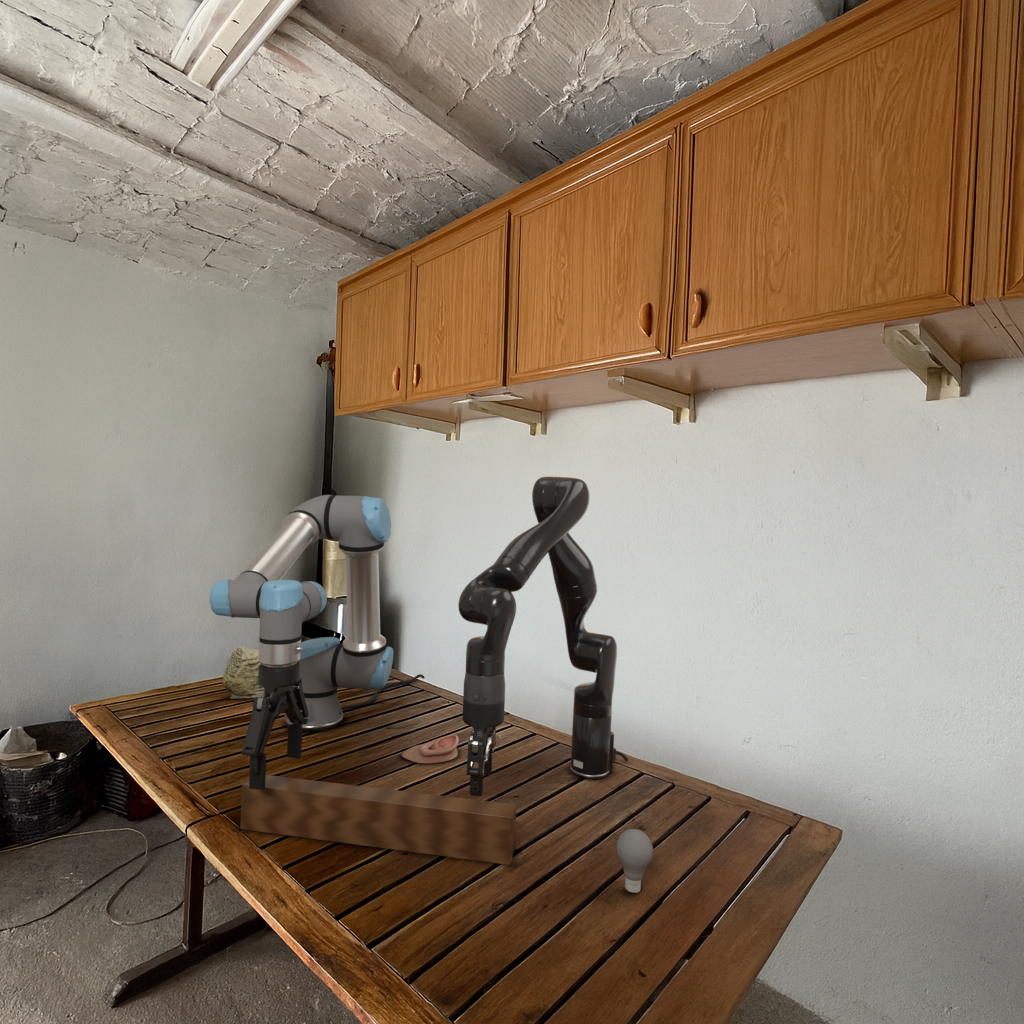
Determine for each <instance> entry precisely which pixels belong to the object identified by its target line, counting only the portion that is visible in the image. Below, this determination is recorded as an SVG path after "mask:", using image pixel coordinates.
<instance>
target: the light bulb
mask: <svg viewBox="0 0 1024 1024" xmlns="http://www.w3.org/2000/svg"><path fill="white" fill-rule="evenodd" d="M615 849H616V854H617V857H618V859H619V861H620V863H621V865H622V867H623V873H624V874H623V875H624V876H625V878H624V888H625V890H627V891H628V892H630V893H634V894H635V893H639V892H640V891H641V889H642V887H641V886H642V879H643V877H644V875H645V871H646V868H647V867H648V866H649V864H650V863H651V861H652V859H653V855H654V847H653V843H652V841H651V838H649V836H648V835H647V834H646V833H645V832H643V831H642V830H641V829H636V828H629V829H627V830H625V831H623V832H622V833H621V834H620V835H619V837H618V839H617V841H616V847H615Z"/></svg>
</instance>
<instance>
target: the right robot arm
mask: <svg viewBox="0 0 1024 1024" xmlns="http://www.w3.org/2000/svg"><path fill="white" fill-rule="evenodd" d="M531 501H532V507H533V511H534V515H535V518H536V521H537V524H535V525H533V526H532V527H530V528H528V529H526V530H525V531H524V532H522V533H520V534H519V535H517V536H516V537H514V538H513V539H512V540H511V541H510V542H509V543H508V544H507V545H506V547H505V548H504V549H503V551H502V552H501V553H500V555H499V556H498V557H497V559H495V562H494V563H493V564H492V565H491V566H489V567H487V568H486V569H485V570H483V571H482V572H481V573H480V574H478V575H476V577H475V578H473V579H472V580H470V581H469V582H468V584H466V586H465V587H464V588H463V590H462V591H461V594H460V596H459V599H458V603H457V605H458V613H459V614H460V616H461V618H462V619H463V620H465V621H467V622H469V623H473V624H477V625H483V626H486V631H485V633H484V635H479V636H474V637H472V638H470V639H469V640H468V642H467V644H466V653H465V672H464V673H465V674H464V679H463V692H462V693H463V695H462V697H463V698H462V721H463V723H464V724H465V725H467V726H470V727H471V728H472V729H473V730H472V733H470V735H469V739H468V741H467V757H466V759H467V761H466V771H465V772H466V776H469V795H470V796H474V797H481V796H483V794H484V776H491V774H492V773H493V754H494V752H495V747H496V745H497V742H496V740H497V739H496V738H497V736H496V735H497V727H499V726H501V725H502V724H503V723H504V721H505V706H506V704H505V703H506V678H505V676H506V675H505V669H506V668H505V667H506V650H507V645H508V642H509V637H510V634H511V631H512V627H513V626H514V625H513V624H514V622H515V618H516V614H517V601H516V598H515V595H514V594H513V593H515V592H519V591H520V590H522V589H523V588H524V586H525V585H526V583H527V582H528V581H529V579H530V578H531V576H532V575H533V574H534V572H535V570H536V569H537V567H538V566H539V565H540V563H541V562H542V561H543V559H544V558H545V557H546V556H547V554H548V557H549V562H550V565H551V570H552V576H553V581H554V586H555V590H556V593H557V597H558V601H559V604H560V610H561V613H562V618H563V623H564V630H565V632H564V633H565V638H566V647H567V654H568V659H569V662H570V664H571V665H572V667H573V668H575V669H577V670H580V671H583V672H588V673H595V678H594V679H595V680H593V681H590V682H589V681H588V682H584V683H583V682H582V683H580V684H578V685H576V686H575V687H574V689H573V705H572V707H573V708H572V727H571V728H572V730H571V747H570V749H571V750H570V763H569V764H570V765H569V770H570V772H571V773H572V774H573V775H575V776H577V777H580V778H583V779H590V780H593V779H594V780H596V779H603V778H606V777H608V775H609V774H612V773H613V771H614V769H613V768H614V762H615V761H616V760H617V756H620V757H622V759H623V760H624V761H625V762H628V761H629V758H628V757H627V756H626V755H625V754H624V753H623V752H621V751H617V749H616V748H615V747H614V746H615V733H614V732H613V731H612V716H613V715H612V714H613V713H612V712H613V697H614V690H615V684H616V683H615V682H616V681H615V680H616V668H617V661H618V660H617V659H618V644H617V641H616V639H615V637H614V636H612V635H608V634H603V633H597V632H591V631H587V630H586V626H585V618H586V615H587V613H589V610H590V609H591V607H592V605H593V603H594V601H595V599H596V597H597V593H598V583H597V580H596V579H597V578H596V574H595V569H594V565H593V562H592V561H591V559H590V557H589V556H588V555H587V553H586V552H585V551H584V550H583V548H582V547H581V546H580V545H579V544H578V543H577V542H576V540H575V539H574V538H573V536H572V535H571V534H570V533H569V532H571V530H572V529H573V528H575V526H576V525H577V524H578V523H579V522H580V521H581V520H582V519H583V517H584V516H585V514H586V512H587V511H588V509H589V505H590V489H589V487H588V484H587V483H586V482H585V481H584V480H582V479H580V478H576V477H568V476H567V477H566V476H541V477H539V478H537V479H536V481H535V482H534V485H533V487H532V492H531ZM475 763H477V764H478V765H477V766H478V767H476V766H475ZM474 766H475V767H474Z"/></svg>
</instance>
